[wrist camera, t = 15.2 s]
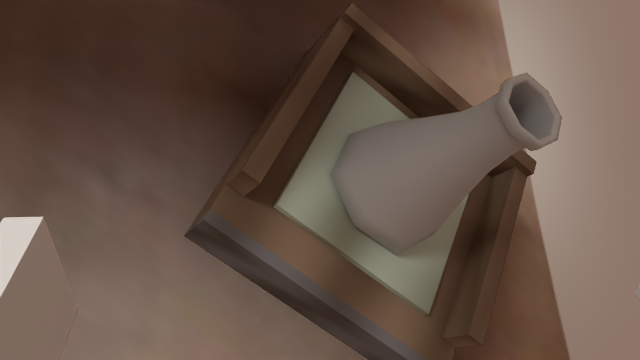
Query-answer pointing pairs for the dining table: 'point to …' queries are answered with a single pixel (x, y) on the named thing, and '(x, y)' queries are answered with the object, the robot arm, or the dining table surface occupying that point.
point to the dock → (334, 221)
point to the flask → (437, 161)
